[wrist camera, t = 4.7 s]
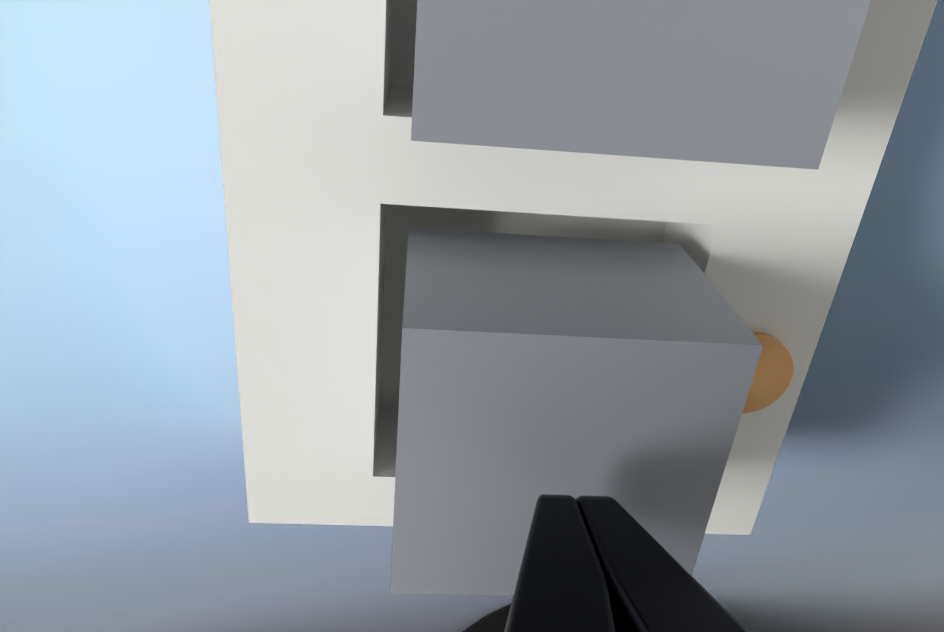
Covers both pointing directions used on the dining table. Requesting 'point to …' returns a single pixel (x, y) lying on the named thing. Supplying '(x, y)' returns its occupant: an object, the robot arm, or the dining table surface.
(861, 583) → the dining table surface
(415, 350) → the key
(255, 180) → the keypad
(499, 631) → the aerosol can
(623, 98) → the key middle
